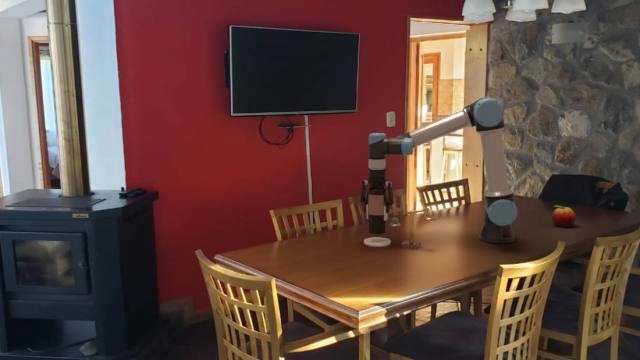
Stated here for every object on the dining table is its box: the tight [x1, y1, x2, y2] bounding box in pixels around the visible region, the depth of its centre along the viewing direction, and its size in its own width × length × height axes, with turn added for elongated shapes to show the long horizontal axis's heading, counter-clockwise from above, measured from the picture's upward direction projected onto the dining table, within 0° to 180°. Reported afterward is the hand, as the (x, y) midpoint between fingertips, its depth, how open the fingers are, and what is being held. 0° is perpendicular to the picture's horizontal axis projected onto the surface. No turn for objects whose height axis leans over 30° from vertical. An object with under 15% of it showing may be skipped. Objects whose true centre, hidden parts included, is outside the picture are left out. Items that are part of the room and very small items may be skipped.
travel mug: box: [368, 188, 387, 235], centre depth 252 cm, size 8×8×20 cm
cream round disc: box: [363, 236, 392, 248], centre depth 255 cm, size 12×12×1 cm
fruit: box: [551, 204, 576, 228], centre depth 280 cm, size 11×11×10 cm
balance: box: [388, 207, 436, 251], centre depth 246 cm, size 20×6×18 cm, turn 63°
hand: (377, 218), depth 253 cm, fingers closed on travel mug, 8 cm apart
